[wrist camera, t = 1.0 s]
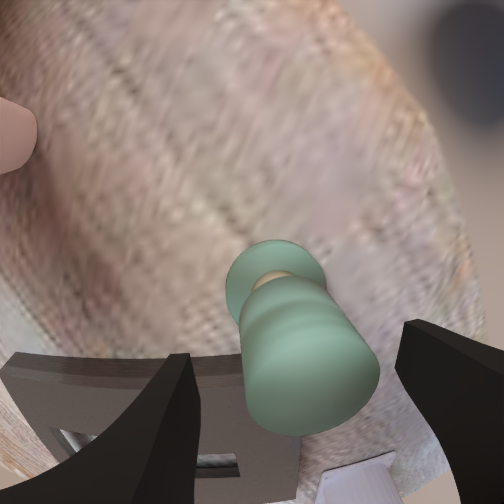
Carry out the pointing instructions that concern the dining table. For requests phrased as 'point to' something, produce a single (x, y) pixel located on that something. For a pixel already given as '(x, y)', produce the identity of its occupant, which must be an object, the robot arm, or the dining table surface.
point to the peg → (296, 342)
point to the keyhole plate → (124, 393)
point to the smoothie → (15, 135)
